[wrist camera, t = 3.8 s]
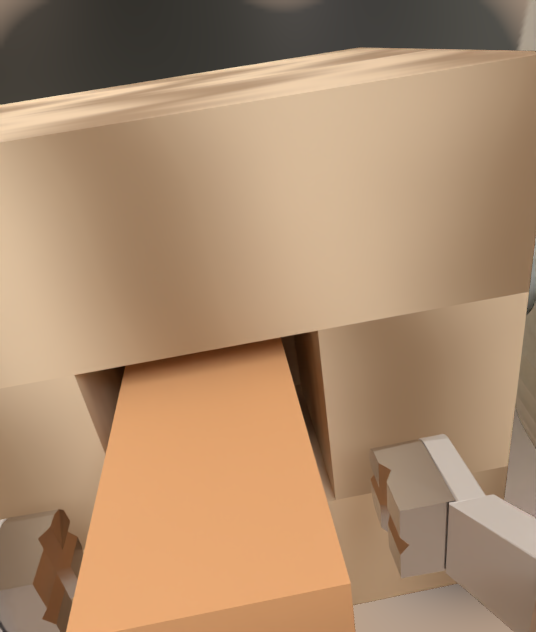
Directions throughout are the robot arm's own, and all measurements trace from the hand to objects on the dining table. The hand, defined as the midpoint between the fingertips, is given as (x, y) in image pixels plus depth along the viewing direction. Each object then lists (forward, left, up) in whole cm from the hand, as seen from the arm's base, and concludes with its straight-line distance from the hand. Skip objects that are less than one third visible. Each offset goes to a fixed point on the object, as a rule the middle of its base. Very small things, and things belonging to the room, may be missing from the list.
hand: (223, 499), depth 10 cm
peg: (0, 0, -7) cm, 7 cm away
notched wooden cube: (0, 0, -14) cm, 14 cm away
